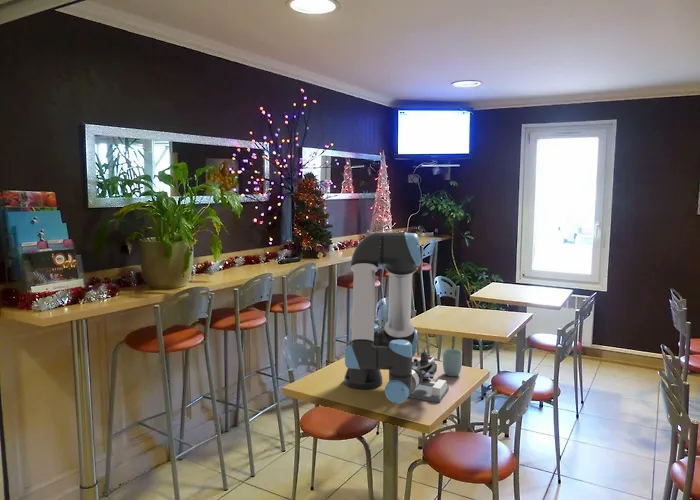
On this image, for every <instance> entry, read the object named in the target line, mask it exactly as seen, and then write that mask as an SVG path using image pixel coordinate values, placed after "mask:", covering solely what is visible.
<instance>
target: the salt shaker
mask: <svg viewBox="0 0 700 500" xmlns="http://www.w3.org/2000/svg"><path fill="white" fill-rule="evenodd" d="M420 358H421V361H420V367H421V366H422V367H423V366H425V365H427V364H428V362H429V361H430V360H429V353H428V352H426V350H425V349H424V350H423V352H421V353H420ZM431 381H432V379H430V378H429V377H426V378H424V379H423V380H422V382H421V383H430V382H431Z"/></svg>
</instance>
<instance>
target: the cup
mask: <svg viewBox="0 0 700 500" xmlns="http://www.w3.org/2000/svg"><path fill="white" fill-rule="evenodd" d="M462 359H463V352H462V350H460V349H456V348H455V349H453V348H448V349H446V348H445V349H444V350H443V351H442V368H443V369H442V370H443V372H444V374H445V375H446V376H448V377H457V376H459V375H460V373H461V370H462V362H463V360H462Z"/></svg>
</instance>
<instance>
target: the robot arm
mask: <svg viewBox="0 0 700 500" xmlns="http://www.w3.org/2000/svg"><path fill="white" fill-rule="evenodd" d="M421 254H422V253H421V246H420V236H419V235H418V234H417V233H414V232H405V231H404V232H379V231H378V232H372V233H369V234H368V235H366V236H365V237H363V238H362V239H361V240H360V242H359V243H358V244H357V246H356V247H355V249H354V252H353V253H352V256H351V261H350V270H351V271H352V273H353V286H352V312H351V313H352V314H351V315H352V316H351V317H352V319H351V328H350V330H349V334H348V335H349V337H348V341H349V344H348V345H347V346H345V348H344V349H345V350H344V365H345V367H346V368H347V369H346V372H345V375H344V384H345V385H346V386H347V387H349V388H351V389H355V390H356V389H357V390H370V389H375V388H379V387H381V386H382V384H383V375H382V371H381V370H385V371H386V370H387V371H388V382H387V383H386V385H385V387H384V394H385V397H386V398H387V400H389V401H390V402H392V403H393V404H400V403H402V402H404V401H405V400H407V399H408V398H409V397H408V396H409V395H410V394H411V393H412V392H413V391H414V390H415V389H416V387H417V386H418V385H419V384H420V383H421V382H422V380H423V379H424V378H426V377H429V378H428V379H430V380H434V376H435V374H436V373H437V369H438V365H437V363H436V359H435V358H436V357H434V356H433V357H432V358H431V359H429V360H428V361H429V362H428V364H427V365H425V366H423V367H422V366H421V367H420V361H421V357H419V358H418V359H417V358H414V356H415V355H416V352H417V351H416V350H417V347H418V336H419V335H418V330H417V329H416V328H415V327H414V324H412V322H411V318H412V317H411V316H412V295H413V294H412V292H413V276H414V275H413V274H415V273H416V271H417V270H418V267H419V266H422V256H421ZM381 265H382V266H384V269H385V270H386V272H388V309H387V311H388V317H387V322H386V323H385V325H384V327H382V328H380V326H379V325H378V324H377V323H375V305H376V304H375V303H376V302H375V300H376V299H375V294H376V293H375V292H376V272H378V271H379V266H381Z"/></svg>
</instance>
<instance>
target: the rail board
mask: <svg viewBox="0 0 700 500" xmlns="http://www.w3.org/2000/svg"><path fill="white" fill-rule="evenodd" d="M449 388H450V386H448V383H447V380H444V379H440V378H439V379H437V381H432V380H431V382H430V383H420V384H419V385H418V386H417V387H416V389H415V390H414V391H413V392H412V393H411V394H410V395H409V396H408V398H413V399H419V400H423V401H429V402H434V403H441V401H442V400H443V398H444V397H445V396H446V395H447V393H449V390H450V389H449Z"/></svg>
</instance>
